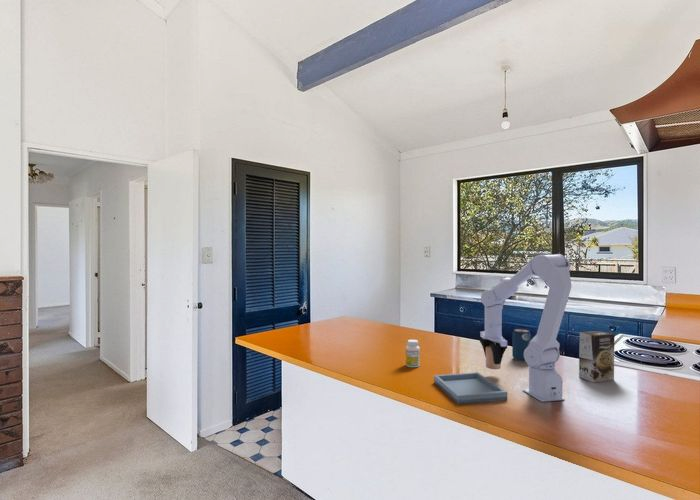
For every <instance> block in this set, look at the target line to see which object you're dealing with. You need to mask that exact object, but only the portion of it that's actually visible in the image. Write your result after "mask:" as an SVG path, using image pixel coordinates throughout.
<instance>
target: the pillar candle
mask: <svg viewBox="0 0 700 500" xmlns="http://www.w3.org/2000/svg"><path fill="white" fill-rule="evenodd" d="M501 364H502V363H501ZM501 364H494V360H493V352H492V349H491V346H486V357H485V367H486V369H490V370H500V369H501V368H502V367H501Z"/></svg>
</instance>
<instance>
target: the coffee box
mask: <svg viewBox="0 0 700 500" xmlns="http://www.w3.org/2000/svg"><path fill="white" fill-rule="evenodd" d="M578 345H579V350H578V353H579V355H578V356H579V357H578V377H579V378H582V379H583V380H586V381H587V382H588V381H589V382H591V383H594V384H595V383H601V382H611V381H614V380H615V333H611V332H606V331H602V330H601V331H600V330H594V331H593V330H592V331H589V330H588V331H580V332H579V344H578Z"/></svg>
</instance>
